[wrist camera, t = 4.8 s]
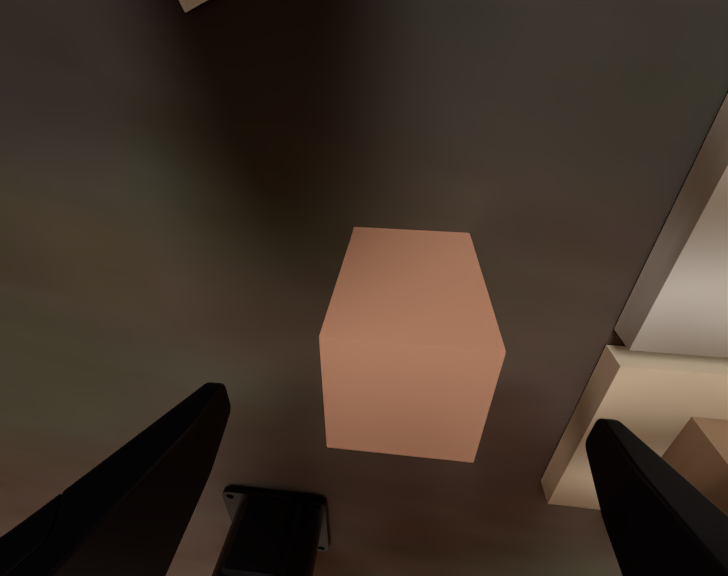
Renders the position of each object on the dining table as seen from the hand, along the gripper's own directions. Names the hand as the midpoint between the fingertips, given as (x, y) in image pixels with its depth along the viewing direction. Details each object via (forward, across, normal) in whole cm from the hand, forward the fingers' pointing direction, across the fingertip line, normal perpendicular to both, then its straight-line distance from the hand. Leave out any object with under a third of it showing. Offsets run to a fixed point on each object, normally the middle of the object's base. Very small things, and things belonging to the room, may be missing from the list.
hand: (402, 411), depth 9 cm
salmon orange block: (+6, 0, 0) cm, 6 cm away
